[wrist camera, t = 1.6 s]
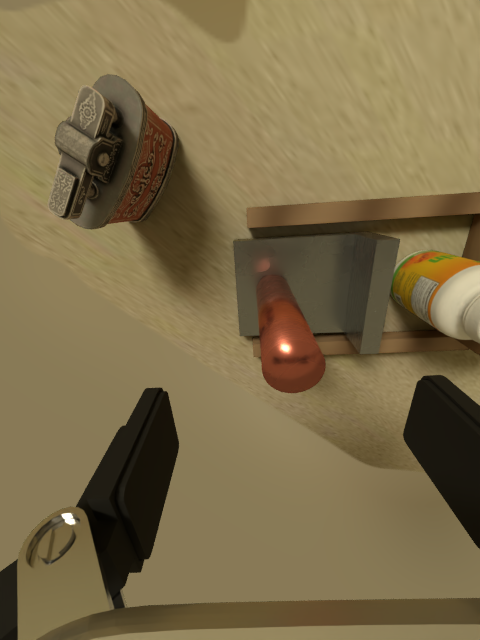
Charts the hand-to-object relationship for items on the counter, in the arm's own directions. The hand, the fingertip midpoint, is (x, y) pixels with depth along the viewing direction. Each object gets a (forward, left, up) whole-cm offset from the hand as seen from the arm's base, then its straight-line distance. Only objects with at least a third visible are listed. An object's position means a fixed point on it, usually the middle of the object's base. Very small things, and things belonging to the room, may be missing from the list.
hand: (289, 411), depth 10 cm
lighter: (+9, -10, -17) cm, 21 cm away
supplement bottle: (-14, 0, -17) cm, 22 cm away
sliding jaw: (-3, 0, -16) cm, 16 cm away
